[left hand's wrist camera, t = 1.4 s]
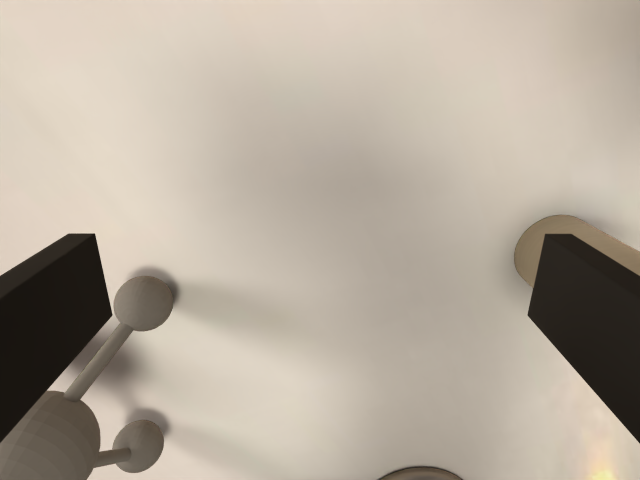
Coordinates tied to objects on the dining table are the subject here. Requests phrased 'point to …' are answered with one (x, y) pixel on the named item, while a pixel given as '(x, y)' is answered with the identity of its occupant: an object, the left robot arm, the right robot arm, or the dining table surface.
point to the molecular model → (78, 419)
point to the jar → (564, 224)
